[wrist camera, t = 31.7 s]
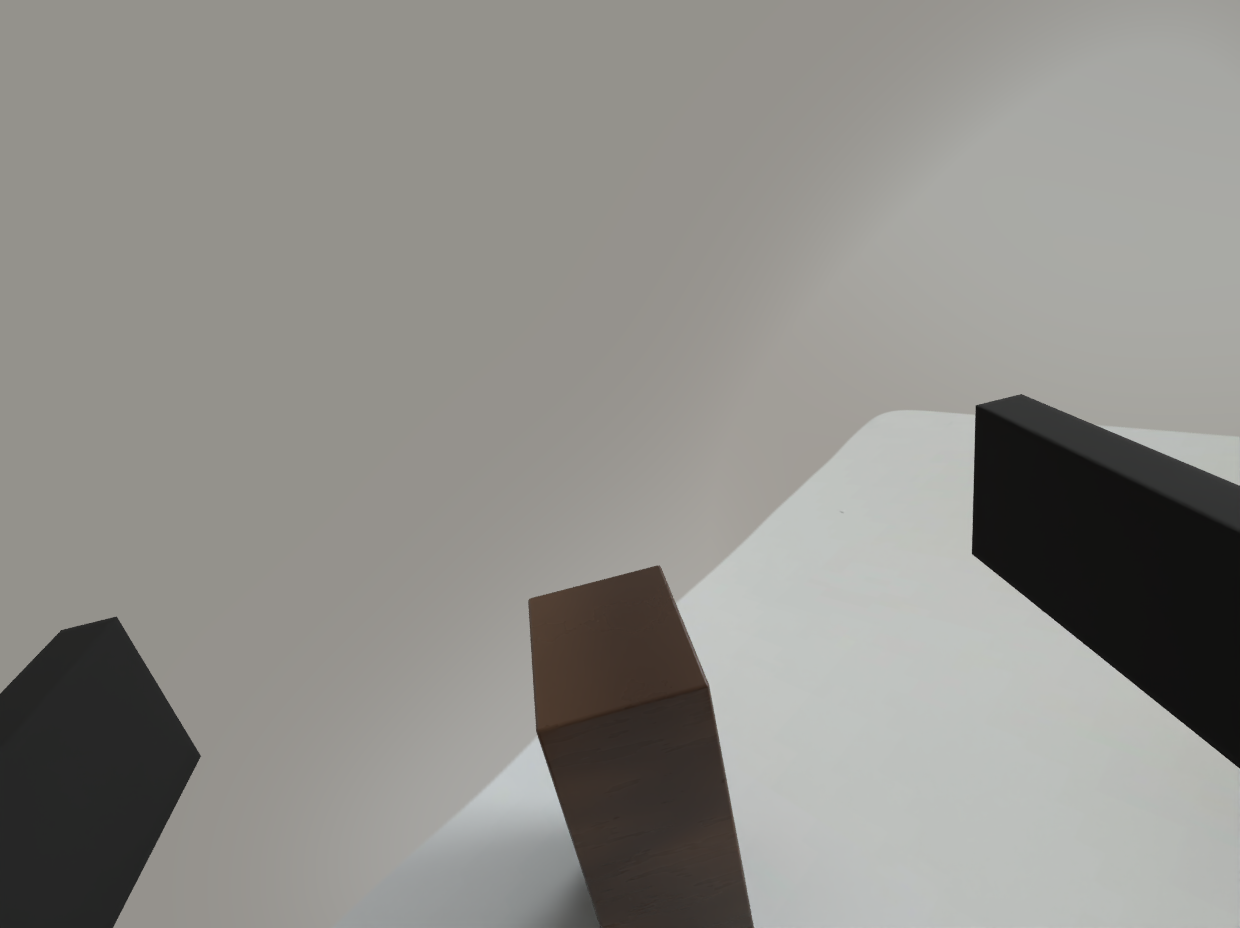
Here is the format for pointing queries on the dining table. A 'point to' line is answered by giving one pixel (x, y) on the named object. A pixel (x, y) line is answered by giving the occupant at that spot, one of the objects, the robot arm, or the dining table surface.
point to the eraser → (636, 755)
